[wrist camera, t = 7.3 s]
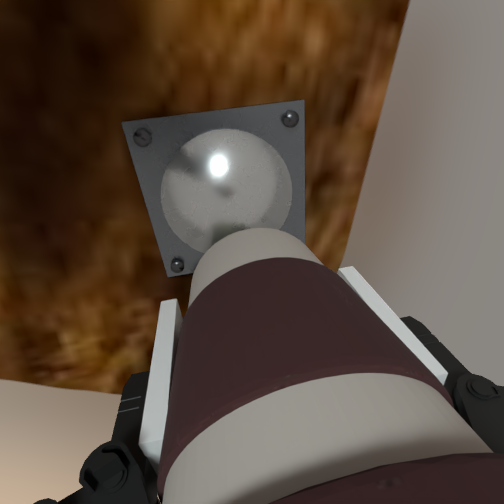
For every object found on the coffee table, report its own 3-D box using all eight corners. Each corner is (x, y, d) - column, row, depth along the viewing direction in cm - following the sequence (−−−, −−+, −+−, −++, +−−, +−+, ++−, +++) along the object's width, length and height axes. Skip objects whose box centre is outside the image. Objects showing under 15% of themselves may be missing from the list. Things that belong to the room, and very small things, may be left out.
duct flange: (123, 121, 25) (119, 123, 24) (300, 99, 27) (306, 100, 25) (168, 272, 33) (167, 280, 32) (302, 248, 35) (307, 255, 33)
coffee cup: (259, 157, 14) (1398, 1339, 1) (364, 272, 18) (779, 719, 5) (128, 290, 16) (-157, 1155, 3) (251, 363, 20) (347, 831, 8)
